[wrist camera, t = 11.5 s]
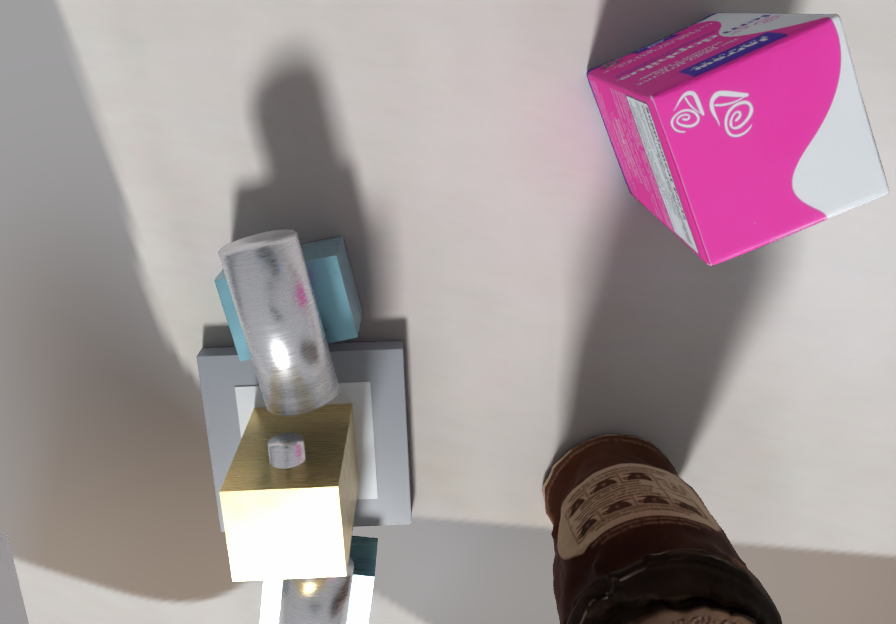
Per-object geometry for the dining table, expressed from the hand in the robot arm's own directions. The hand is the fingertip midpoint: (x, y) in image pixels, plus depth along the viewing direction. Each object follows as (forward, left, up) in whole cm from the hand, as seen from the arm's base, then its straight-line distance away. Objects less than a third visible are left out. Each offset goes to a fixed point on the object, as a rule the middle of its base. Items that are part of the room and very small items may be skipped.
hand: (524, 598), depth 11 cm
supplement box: (-3, +9, -27) cm, 29 cm away
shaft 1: (+4, -7, -27) cm, 28 cm away
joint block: (+12, -7, -26) cm, 29 cm away
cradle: (+12, -7, -27) cm, 30 cm away
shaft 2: (+19, -7, -27) cm, 33 cm away
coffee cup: (+15, +7, -27) cm, 32 cm away
